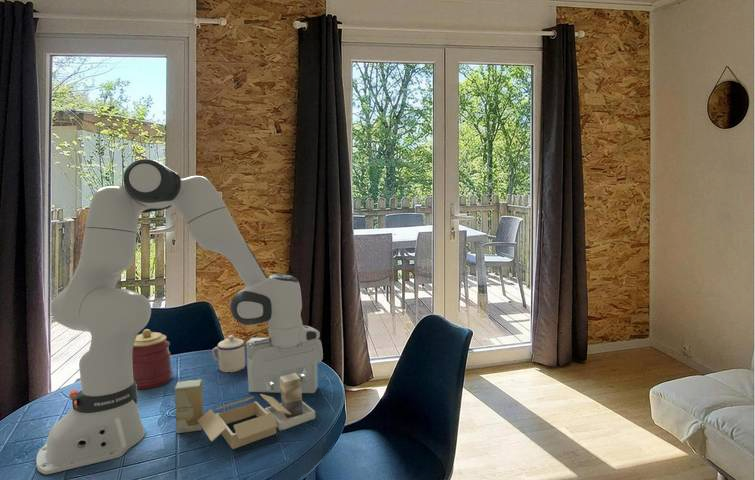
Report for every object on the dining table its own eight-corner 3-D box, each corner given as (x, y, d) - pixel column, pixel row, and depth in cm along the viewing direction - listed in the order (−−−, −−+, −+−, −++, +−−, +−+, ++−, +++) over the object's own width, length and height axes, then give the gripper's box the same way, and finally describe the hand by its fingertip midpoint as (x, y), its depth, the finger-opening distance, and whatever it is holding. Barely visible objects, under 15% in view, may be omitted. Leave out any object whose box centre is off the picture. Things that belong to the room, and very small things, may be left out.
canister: (155, 391, 138) (150, 336, 136) (118, 389, 140) (113, 335, 138) (180, 374, 151) (176, 324, 149) (146, 372, 153) (142, 322, 151)
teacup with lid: (250, 363, 159) (249, 332, 158) (237, 374, 150) (235, 340, 149) (220, 361, 162) (218, 330, 160) (205, 371, 153) (203, 339, 151)
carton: (216, 462, 101) (214, 439, 101) (194, 427, 116) (193, 407, 116) (297, 431, 113) (296, 411, 113) (268, 404, 128) (267, 386, 128)
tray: (280, 430, 114) (279, 423, 114) (264, 415, 122) (264, 408, 122) (315, 418, 120) (315, 411, 120) (298, 404, 128) (298, 397, 128)
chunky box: (287, 418, 119) (284, 382, 118) (282, 411, 123) (279, 376, 122) (303, 413, 121) (300, 378, 120) (298, 407, 125) (295, 373, 124)
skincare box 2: (318, 386, 140) (317, 337, 138) (314, 394, 134) (312, 343, 133) (254, 384, 142) (251, 336, 140) (247, 392, 137) (244, 342, 135)
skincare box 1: (176, 434, 113) (172, 388, 112) (179, 425, 117) (175, 381, 116) (203, 430, 115) (200, 385, 114) (204, 421, 119) (202, 378, 118)
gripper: (251, 345, 109) (253, 400, 110) (325, 331, 121) (326, 380, 122) (243, 339, 114) (245, 391, 115) (314, 325, 126) (315, 372, 127)
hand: (287, 385), depth 119 cm, fingers open, 8 cm apart
